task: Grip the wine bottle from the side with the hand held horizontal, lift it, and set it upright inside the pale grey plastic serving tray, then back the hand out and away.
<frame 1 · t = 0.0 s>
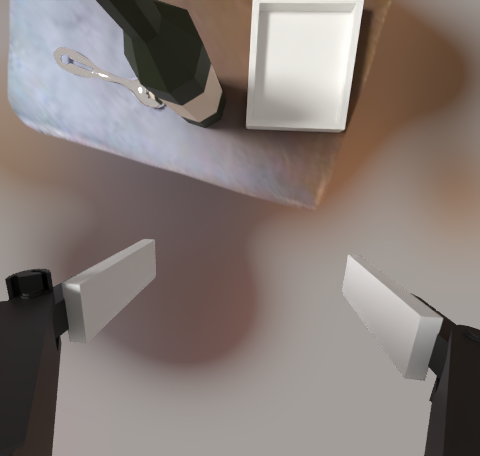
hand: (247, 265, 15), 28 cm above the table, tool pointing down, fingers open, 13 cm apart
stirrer: (116, 80, 40), on the table
serving tray: (298, 72, 37), on the table
wine bottle: (202, 103, 39), on the table
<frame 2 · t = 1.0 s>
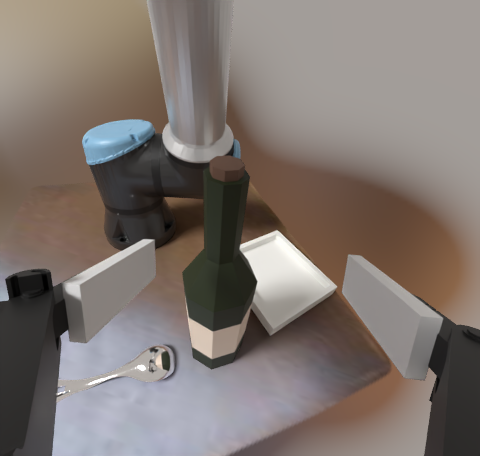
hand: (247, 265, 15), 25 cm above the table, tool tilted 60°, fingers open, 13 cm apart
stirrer: (100, 381, 30), on the table
serving tray: (273, 277, 46), on the table
wine bottle: (215, 340, 35), on the table
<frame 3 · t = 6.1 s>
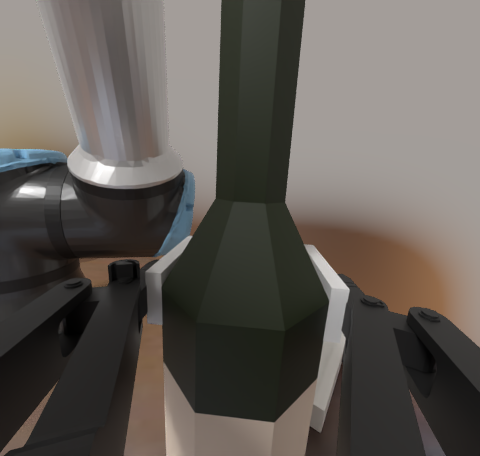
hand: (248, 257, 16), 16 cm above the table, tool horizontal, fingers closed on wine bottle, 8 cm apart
serving tray: (270, 338, 31), on the table
when the fingers open (18 cm above the table, at t = 11.9 s): wine bottle drops 1 cm, resting on serving tray.
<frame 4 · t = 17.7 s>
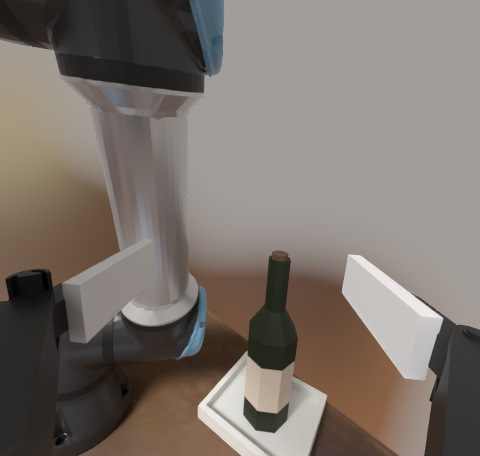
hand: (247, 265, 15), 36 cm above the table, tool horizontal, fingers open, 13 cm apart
serving tray: (264, 411, 41), on the table
wine bottle: (264, 409, 40), point 1 cm above the table, touching serving tray
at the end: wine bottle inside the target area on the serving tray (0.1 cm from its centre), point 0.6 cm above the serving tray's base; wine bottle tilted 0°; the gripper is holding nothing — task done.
